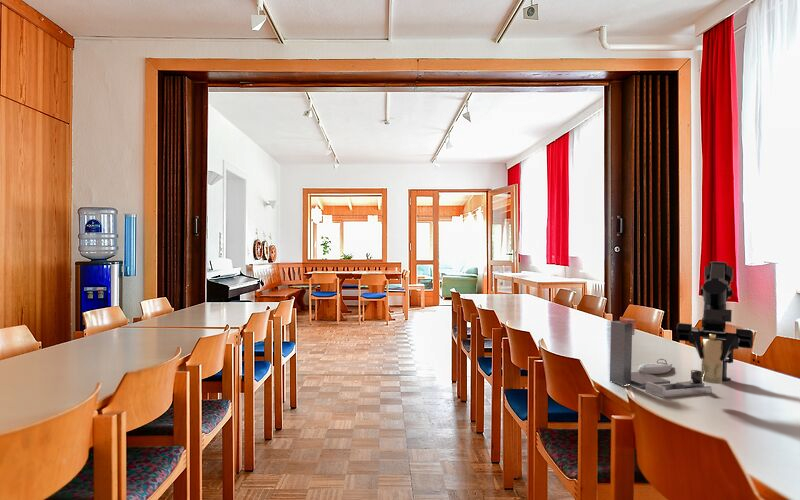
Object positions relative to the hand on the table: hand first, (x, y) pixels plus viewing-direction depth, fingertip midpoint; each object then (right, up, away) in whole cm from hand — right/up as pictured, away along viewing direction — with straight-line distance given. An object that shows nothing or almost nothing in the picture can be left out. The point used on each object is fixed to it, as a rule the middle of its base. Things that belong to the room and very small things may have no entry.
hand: (711, 359), depth 135 cm
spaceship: (+4, -13, +37) cm, 39 cm away
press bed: (-11, -13, +22) cm, 27 cm away
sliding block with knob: (+2, -13, +13) cm, 19 cm away
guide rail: (-2, -13, +12) cm, 18 cm away
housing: (+1, -7, +1) cm, 7 cm away
